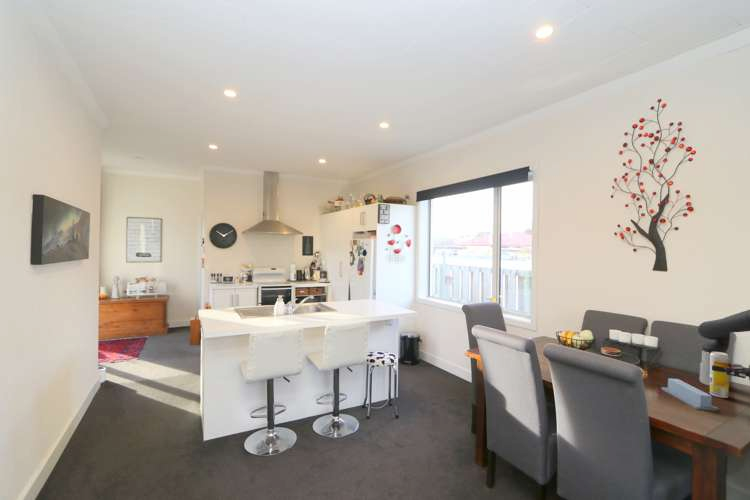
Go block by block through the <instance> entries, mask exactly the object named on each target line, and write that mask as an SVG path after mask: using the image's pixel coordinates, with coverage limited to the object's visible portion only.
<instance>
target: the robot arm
mask: <svg viewBox="0 0 750 500" xmlns="http://www.w3.org/2000/svg"><path fill="white" fill-rule="evenodd" d="M697 332H698V334H699V335H700V336H701V337H702V338H705V339H707V340H708V342H706V343H704V344H703V345H702V346H701V347H702V348H701V362H700V363H699V382H700V383H701V384H703V385H706V386H708V387H710V354H711V352H722V353H726V354H727V351H728V349H729V347H730V338H731V334H732V333H745V332H750V309H747V310H745V311H744V310H743V311H741V312H738V313H735V314H732V315H729V316H728V315H727V316H726V317H723V318H719V319H713V320H708V321H707V320H706V321H703V322H701V323H700V324H699V325H698V327H697ZM712 370H713V371H719V372H724V373H726V374H727V375H728V376H732V377H736V378H742V379H746V377H748V381H750V364H749V366H748V367H744V366H743V365H742V364H739V363H730V362H729V368H728V367H719V366H714V365H713V366H712Z"/></svg>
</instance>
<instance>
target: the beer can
mask: <svg viewBox="0 0 750 500" xmlns="http://www.w3.org/2000/svg"><path fill="white" fill-rule="evenodd" d="M729 360H730V357H729V354H727V352H726V353H722V352H711V354H710V384H711V385H712V386H714V387H718V388H727V387H728V377H729V375H727V374H726V373H724V372H719V371H713V370H712V366H713V365H714V366H719V367H728V368H729V363H730V361H729Z"/></svg>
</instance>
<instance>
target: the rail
mask: <svg viewBox="0 0 750 500" xmlns="http://www.w3.org/2000/svg"><path fill="white" fill-rule="evenodd" d="M661 391H664V392H665V393H668V394H669V395H670V396H673V397H674V398H676V399H678V400H680V401H681V402H683V403H684V404H687V406H689V407H692V408H694V409H696V410H702V411H718V412H719V407H717V406H714V405H712V398H713V395H712V394H710V393H707V392H704V391H703V390H701V389H698V387H697V388H696V387H695V386H692V385H691V384H689V383H687V382H685V381H683V380H681V379H679V378H667V386H666V387H663V386H661Z"/></svg>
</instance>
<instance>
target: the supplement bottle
mask: <svg viewBox="0 0 750 500" xmlns="http://www.w3.org/2000/svg"><path fill="white" fill-rule="evenodd" d="M729 383H730V377H729V376H728V387H727V388H718V387H714V386H712V385H711V384H710V386H709V395H711V396H714V397H717V398H721V399H726V398H727V399H728V397H729V390H730V389H729V387H730V384H729Z"/></svg>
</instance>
